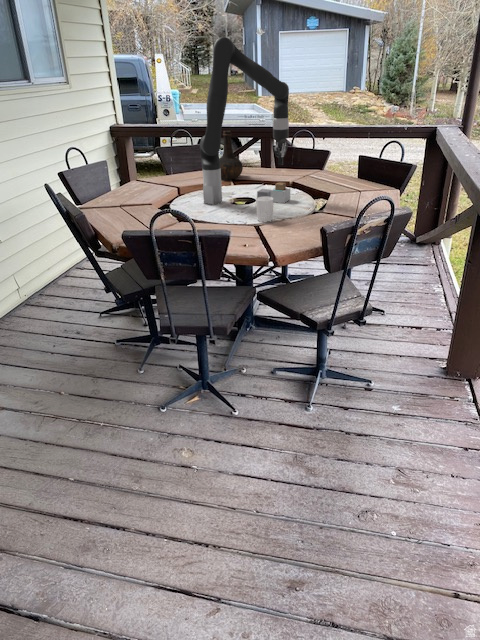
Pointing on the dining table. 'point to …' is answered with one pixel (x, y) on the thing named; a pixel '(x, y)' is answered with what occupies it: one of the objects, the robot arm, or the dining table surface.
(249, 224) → the dining table surface
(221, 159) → the glass bottle
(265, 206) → the white cup
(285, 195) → the white microwave oven
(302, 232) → the dining table surface
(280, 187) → the block
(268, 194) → the gray square block
